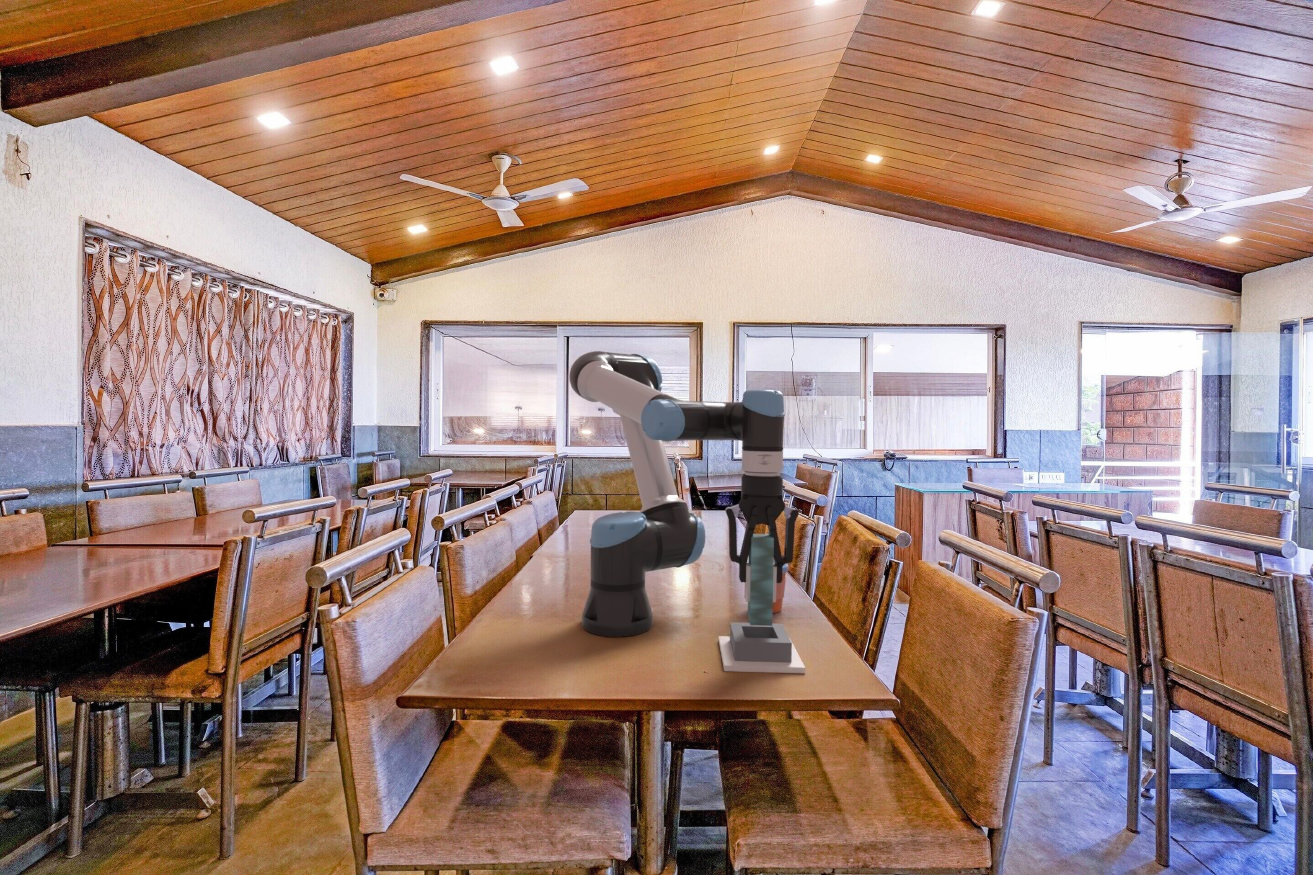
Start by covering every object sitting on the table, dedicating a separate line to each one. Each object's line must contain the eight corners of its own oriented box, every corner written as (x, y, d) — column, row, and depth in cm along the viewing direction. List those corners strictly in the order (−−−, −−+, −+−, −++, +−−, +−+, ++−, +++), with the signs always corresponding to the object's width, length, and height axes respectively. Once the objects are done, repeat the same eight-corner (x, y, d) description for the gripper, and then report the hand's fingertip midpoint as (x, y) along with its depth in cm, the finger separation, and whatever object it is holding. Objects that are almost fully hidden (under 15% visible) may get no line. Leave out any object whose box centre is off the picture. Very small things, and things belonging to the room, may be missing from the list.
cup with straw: (791, 615, 131) (793, 536, 131) (751, 615, 131) (752, 535, 131) (783, 603, 140) (785, 529, 140) (746, 602, 140) (747, 528, 140)
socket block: (724, 670, 101) (724, 645, 101) (718, 640, 115) (719, 618, 115) (805, 673, 101) (805, 647, 101) (789, 642, 115) (790, 620, 115)
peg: (750, 625, 106) (751, 537, 106) (747, 617, 110) (748, 533, 110) (772, 625, 106) (773, 538, 105) (768, 618, 110) (770, 534, 109)
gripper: (717, 474, 104) (715, 604, 104) (813, 476, 103) (811, 607, 104) (714, 471, 111) (712, 592, 112) (804, 472, 111) (802, 594, 111)
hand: (760, 599), depth 108 cm, fingers closed on peg, 4 cm apart
